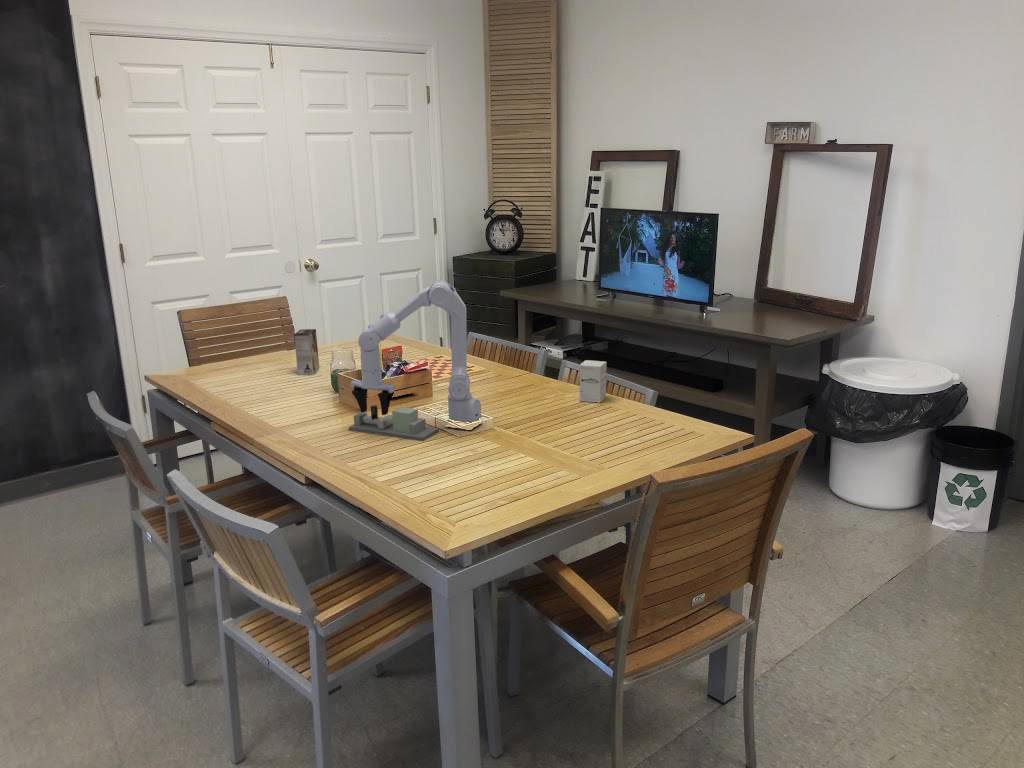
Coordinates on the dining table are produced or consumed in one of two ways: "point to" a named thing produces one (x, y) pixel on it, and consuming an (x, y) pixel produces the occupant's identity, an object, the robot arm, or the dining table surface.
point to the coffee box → (306, 351)
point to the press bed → (415, 431)
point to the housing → (403, 418)
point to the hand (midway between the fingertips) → (374, 412)
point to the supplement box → (592, 381)
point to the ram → (377, 418)
